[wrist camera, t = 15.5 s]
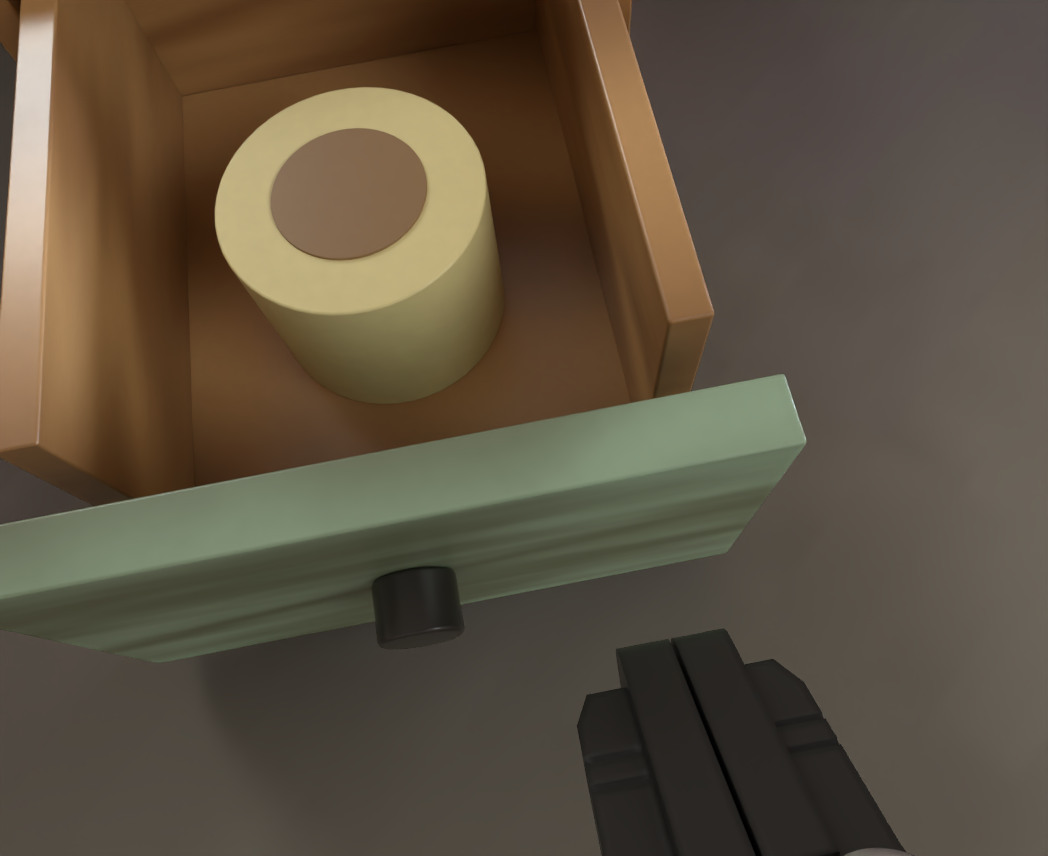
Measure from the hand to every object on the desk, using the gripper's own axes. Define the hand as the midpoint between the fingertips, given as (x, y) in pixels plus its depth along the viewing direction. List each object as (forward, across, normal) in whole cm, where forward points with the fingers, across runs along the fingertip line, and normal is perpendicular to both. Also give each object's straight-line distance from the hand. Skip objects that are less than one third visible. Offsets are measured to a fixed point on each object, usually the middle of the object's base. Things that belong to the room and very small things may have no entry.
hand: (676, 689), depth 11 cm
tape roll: (+12, -4, +3) cm, 13 cm away
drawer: (+13, -4, +3) cm, 13 cm away
